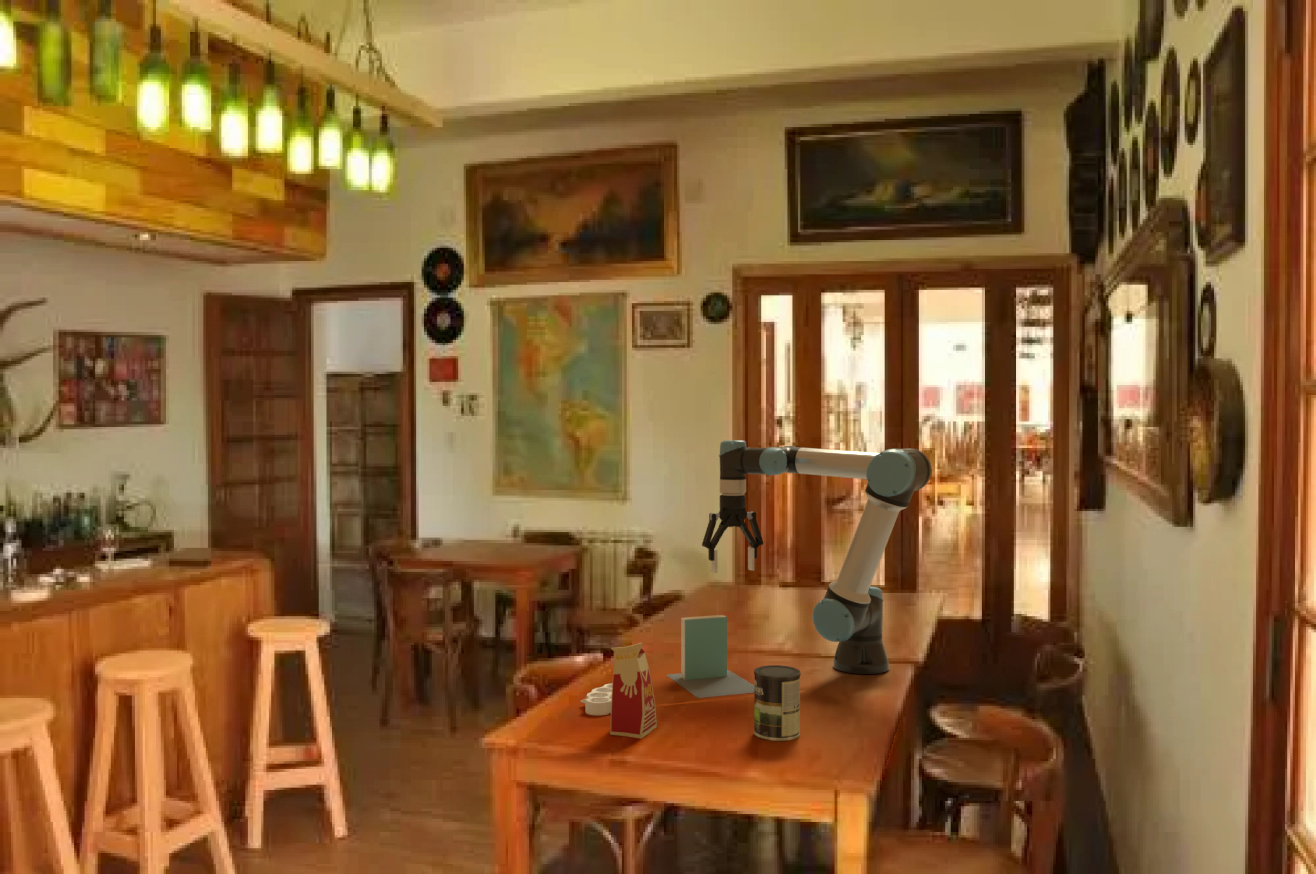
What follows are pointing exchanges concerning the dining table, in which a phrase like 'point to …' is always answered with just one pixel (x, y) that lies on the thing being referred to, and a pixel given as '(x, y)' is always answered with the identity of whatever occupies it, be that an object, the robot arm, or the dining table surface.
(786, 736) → the coffee can
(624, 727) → the milk carton
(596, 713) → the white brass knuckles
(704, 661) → the tile
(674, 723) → the dining table surface
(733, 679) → the mat
